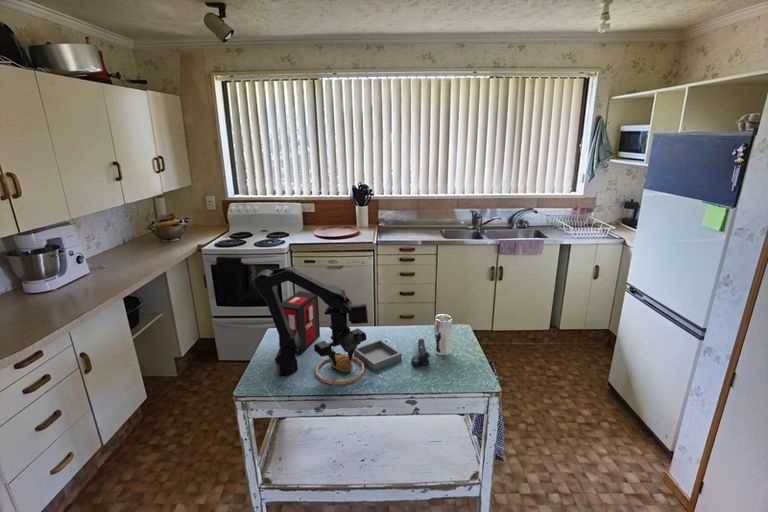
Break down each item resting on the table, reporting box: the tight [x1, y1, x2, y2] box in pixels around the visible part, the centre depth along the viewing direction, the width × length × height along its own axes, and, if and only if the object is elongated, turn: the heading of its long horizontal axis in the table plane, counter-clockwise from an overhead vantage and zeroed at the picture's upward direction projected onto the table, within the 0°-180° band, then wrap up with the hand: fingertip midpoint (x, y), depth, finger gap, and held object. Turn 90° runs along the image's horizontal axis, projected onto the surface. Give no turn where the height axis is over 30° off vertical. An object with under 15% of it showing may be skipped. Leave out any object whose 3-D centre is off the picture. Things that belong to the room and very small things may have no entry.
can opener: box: [411, 338, 431, 367], centre depth 151 cm, size 18×7×6 cm, turn 173°
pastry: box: [329, 352, 353, 373], centre depth 144 cm, size 9×7×4 cm
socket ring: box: [315, 354, 365, 386], centre depth 143 cm, size 17×17×1 cm
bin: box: [353, 339, 403, 372], centre depth 151 cm, size 13×14×3 cm
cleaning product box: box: [281, 291, 321, 356], centre depth 159 cm, size 16×9×20 cm, turn 162°
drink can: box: [433, 313, 453, 356], centre depth 153 cm, size 7×7×15 cm
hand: (342, 362), depth 142 cm, fingers open, 6 cm apart
